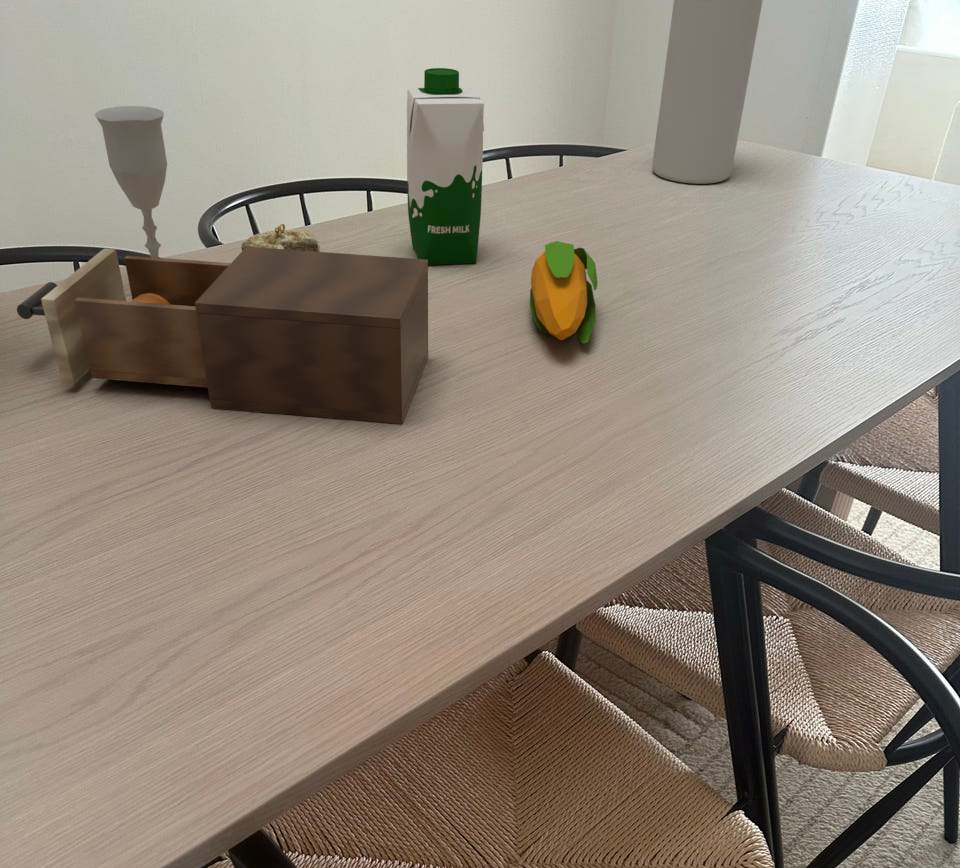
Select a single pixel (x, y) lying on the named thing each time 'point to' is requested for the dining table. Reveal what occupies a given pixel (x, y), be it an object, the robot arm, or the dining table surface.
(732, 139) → the cylinder vase
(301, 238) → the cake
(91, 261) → the drawer
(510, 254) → the dining table surface
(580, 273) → the corn
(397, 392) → the cabinet
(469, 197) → the milk carton
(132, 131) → the chalice
